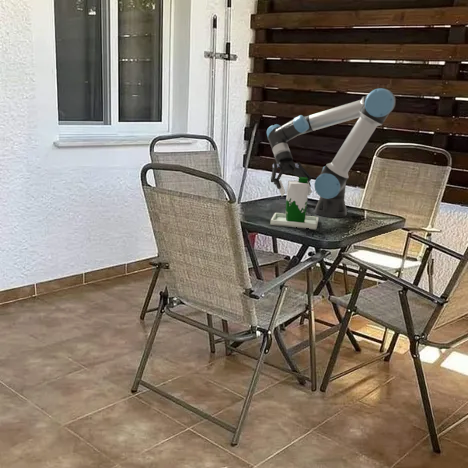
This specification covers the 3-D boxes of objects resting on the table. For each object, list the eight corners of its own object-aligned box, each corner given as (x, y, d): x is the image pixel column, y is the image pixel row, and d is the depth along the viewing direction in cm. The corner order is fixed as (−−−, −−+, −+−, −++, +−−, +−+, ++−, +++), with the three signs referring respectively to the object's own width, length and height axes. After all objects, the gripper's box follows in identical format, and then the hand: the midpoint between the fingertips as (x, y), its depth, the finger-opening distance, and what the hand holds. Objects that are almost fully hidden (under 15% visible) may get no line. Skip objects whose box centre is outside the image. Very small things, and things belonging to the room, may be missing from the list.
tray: (318, 221, 279) (318, 216, 278) (316, 229, 263) (316, 224, 263) (274, 217, 282) (275, 212, 281) (270, 224, 266) (270, 220, 266)
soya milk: (306, 224, 269) (310, 179, 264) (286, 223, 268) (289, 178, 263) (303, 220, 277) (306, 176, 272) (283, 219, 276) (286, 175, 271)
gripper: (302, 160, 287) (317, 197, 277) (255, 160, 276) (268, 199, 267) (309, 150, 281) (324, 188, 271) (261, 150, 270) (275, 189, 261)
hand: (296, 194), depth 269 cm, fingers open, 13 cm apart
